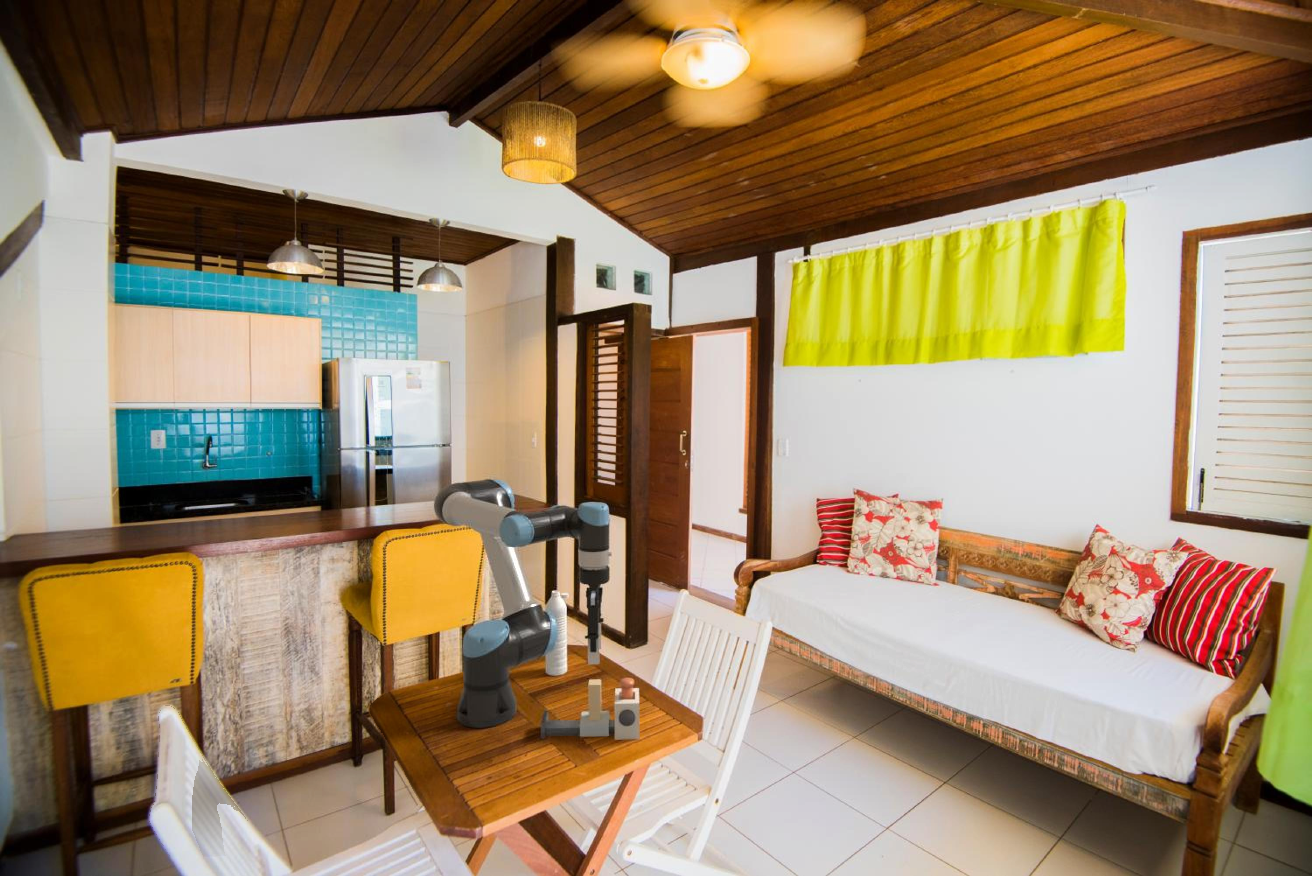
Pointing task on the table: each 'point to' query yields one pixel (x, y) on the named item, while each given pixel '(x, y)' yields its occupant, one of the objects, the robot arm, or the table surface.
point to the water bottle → (558, 655)
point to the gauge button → (626, 688)
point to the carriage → (594, 713)
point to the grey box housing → (626, 716)
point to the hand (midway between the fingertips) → (594, 655)
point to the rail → (565, 727)
